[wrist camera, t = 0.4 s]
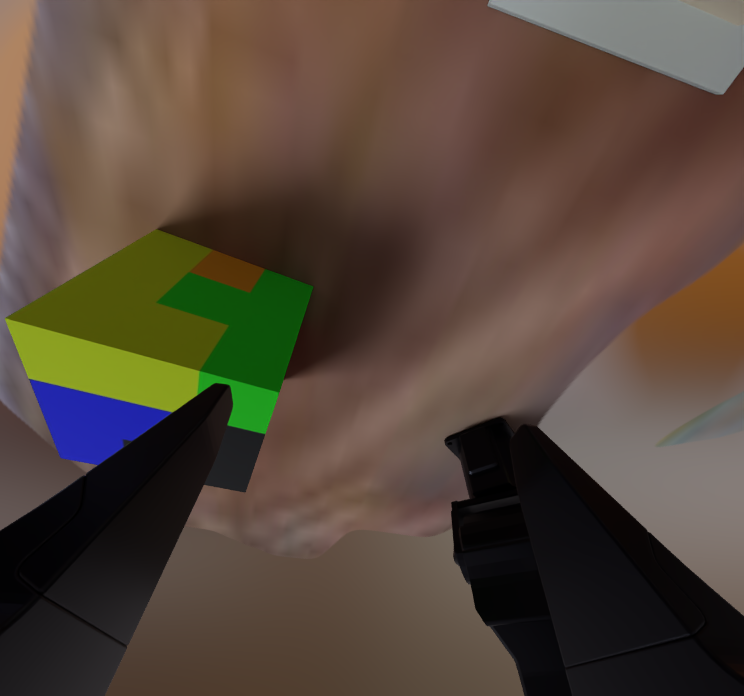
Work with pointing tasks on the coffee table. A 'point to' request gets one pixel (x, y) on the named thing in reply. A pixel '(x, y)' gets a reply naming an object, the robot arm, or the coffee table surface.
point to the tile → (721, 9)
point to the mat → (646, 35)
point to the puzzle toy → (160, 348)
